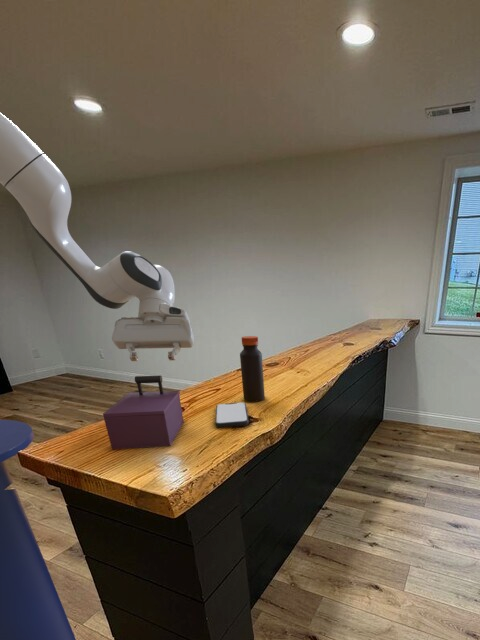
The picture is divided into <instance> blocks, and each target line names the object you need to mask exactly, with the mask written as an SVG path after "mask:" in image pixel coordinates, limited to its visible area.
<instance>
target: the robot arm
mask: <svg viewBox="0 0 480 640" xmlns="http://www.w3.org/2000/svg"><path fill="white" fill-rule="evenodd" d="M0 185H2V187H4V188H5V189H6V190H7V191H8V192H9V193H10V194H11V195H12V196H13V197H14V198H15V200H16V201H17V202H18V204H19V205H20V207H22V209H23V210H24V212H25V214H26V216H27V219H28V223H29V225H30V227H31V228H32V229H33V230H34V232H35V233H36V235H37V236H38V237H39V238H40V239H41V241H42V242H43V243H44V244H45V245H46V246H47V247H48V248H49V249H50V251H52V252H53V253H54V255H55V256H56V257H57V258H58V259H59V260H60V261H61V262H62V263H63V264H64V265H65V267H67V269H68V270H69V271H70V272H71V273H72V274H73V275H74V277H76V278H77V280H79V282H80V283H81V284H82V286H83V287H84V288H85V290H86V291H87V293H88V294H89V295H90V297H91V298H92V299H93V300H94V301H95V302H96V303H98V304H99V305H101V306H102V307H105V308H108V309H113V310H118V309H121V308H122V307H123V306H125V304H127V303H128V302H129V301H130V300H132V299H134V298H137V299H138V300H139V305H138V315H137V316H135V317H133V316H132V317H127V316H125V317H121V318H119V319H117V320H115V322H114V329H113V332H112V336H111V340H112V342H113V344H114V345H115V346H116V347H117V348H118V349H119V350H127V351H128V352H129V360H130V361H131V362H138V361H139V355H138V353H137V352H136V349H137V350H138V349H139V350H140V349H141V350H143V349H172V350H171V351H167V359H168V360H169V361H176V358H177V355H178V354H179V353H180V352H181V349H183V348H184V349H186V348H188V349H191V348H193V347H194V345H195V336H194V331H193V329H192V326H191V325H192V324H191V321H190V320H191V319H190V317H189V315H188V313H187V311H186V310H185V309H184V308H182V307H177V306H174V304H175V300H176V299H175V298H176V297H175V296H176V289H175V283H174V282H175V281H174V279H173V276H172V274H171V272H170V271H169V270H168V269H167V268H165V267H164V266H162V265H160V264H155V263H154V264H153V263H152V262H151V261H149V260H148V259H147V258H145V257H144V256H143V255H140V254H139V253H137V252H133V251H129V250H126V251H122V252H121V253H120V254H118V255H117V256H115V257H114V258H112V259H111V260H110V261H109V262H106V264H104V265H102V266H97V265H96V264H95V263H94V262H93V261H92V260H91V258H90V257H89V256H88V255H87V254H86V252H85V251H84V250H83V249H82V248H81V247H80V246H79V245H78V243H77V242H76V241H75V240H74V238H73V237H72V235H71V233H70V231H69V227H68V218H69V214H70V211H71V207H72V191H71V186H70V184H69V181H68V180H67V178H66V177H65V175H64V174H63V172H62V171H61V170H60V169H59V167H58V166H57V165H56V164H55V163H54V162H53V161H52V160H51V159H50V158H49V156H48V155H47V154H45V153H44V151H43V150H42V149H41V148H40V147H39V146H38V145H37V144H36V143H35V142H34V141H33V140H32V139H30V137H29V136H27V134H26V133H24V131H22V130H21V129H20V128H19V127H18V126H17V125H16V124H15V123H13V122H12V120H10V119H9V118H8V117H6V116H5V115H4V114H3V113H2V112H0Z"/></svg>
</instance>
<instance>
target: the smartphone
mask: <svg viewBox="0 0 480 640" xmlns="http://www.w3.org/2000/svg"><path fill="white" fill-rule="evenodd" d="M214 421H215V422H214V425H215V427H216V428H217V429H218V428H219V429H222V428H223V429H224V428H233V427H244V426H248V425H249V424H250V421H249V414H248V408H247V404H246V402H231V403H219V404H216V406H215V418H214Z"/></svg>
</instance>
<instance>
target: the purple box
mask: <svg viewBox="0 0 480 640" xmlns="http://www.w3.org/2000/svg"><path fill="white" fill-rule="evenodd" d="M103 421H104V424H105V427H106V432H107V435H108V439H109V443H110V447H111V450H125V449H126V450H127V449H141V448H142V449H143V448H161V447H171V446H172V444H173V442H174V440H175V438H176V437H177V435H178V433H179V431H180V430H181V428H182V426H183V424H184V423H185V421H184V415H183V409H182V402H181V397H180V394H179V395H178V397H177V398H176V399H175V401H174V402H173V403H172V405H171V406H170V407H169V409H168V410H167V411H166V413H165V414H159V415H138V416H116V417H103Z"/></svg>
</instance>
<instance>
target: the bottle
mask: <svg viewBox="0 0 480 640" xmlns="http://www.w3.org/2000/svg"><path fill="white" fill-rule="evenodd" d="M241 345H242V347H243V349H242V350H241V352H240V353H239V362H240V372H241V382H242V383H241V385H242V393H243V394H242V395H243V400H244V401H245V402H249V403H259V402H262V401H264V400H265V398H266V396H265V382H264V380H265V379H264V366H263V365H264V363H263V353H262V352H261V350H259V349H258V347H259V337H258V336H256V335H245V336H244V335H243V336H241Z"/></svg>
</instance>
